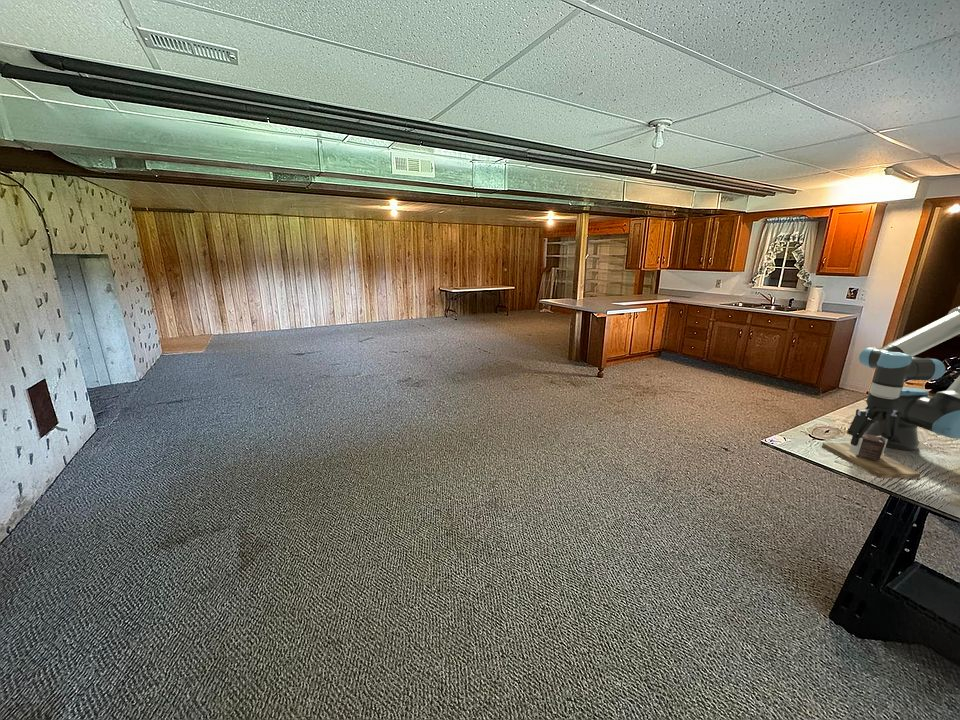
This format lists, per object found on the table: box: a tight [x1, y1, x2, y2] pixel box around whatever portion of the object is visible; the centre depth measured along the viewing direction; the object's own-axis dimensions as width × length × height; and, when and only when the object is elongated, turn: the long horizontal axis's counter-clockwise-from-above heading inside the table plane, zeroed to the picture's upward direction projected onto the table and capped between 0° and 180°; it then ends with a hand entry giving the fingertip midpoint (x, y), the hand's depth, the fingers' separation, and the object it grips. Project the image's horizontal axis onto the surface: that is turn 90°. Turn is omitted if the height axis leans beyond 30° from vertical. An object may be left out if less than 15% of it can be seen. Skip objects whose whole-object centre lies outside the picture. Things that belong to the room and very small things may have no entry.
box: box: [857, 434, 885, 461], centre depth 138 cm, size 6×6×7 cm
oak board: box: [821, 442, 922, 479], centre depth 138 cm, size 14×22×2 cm, turn 0°
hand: (865, 453), depth 139 cm, fingers closed on box, 8 cm apart
